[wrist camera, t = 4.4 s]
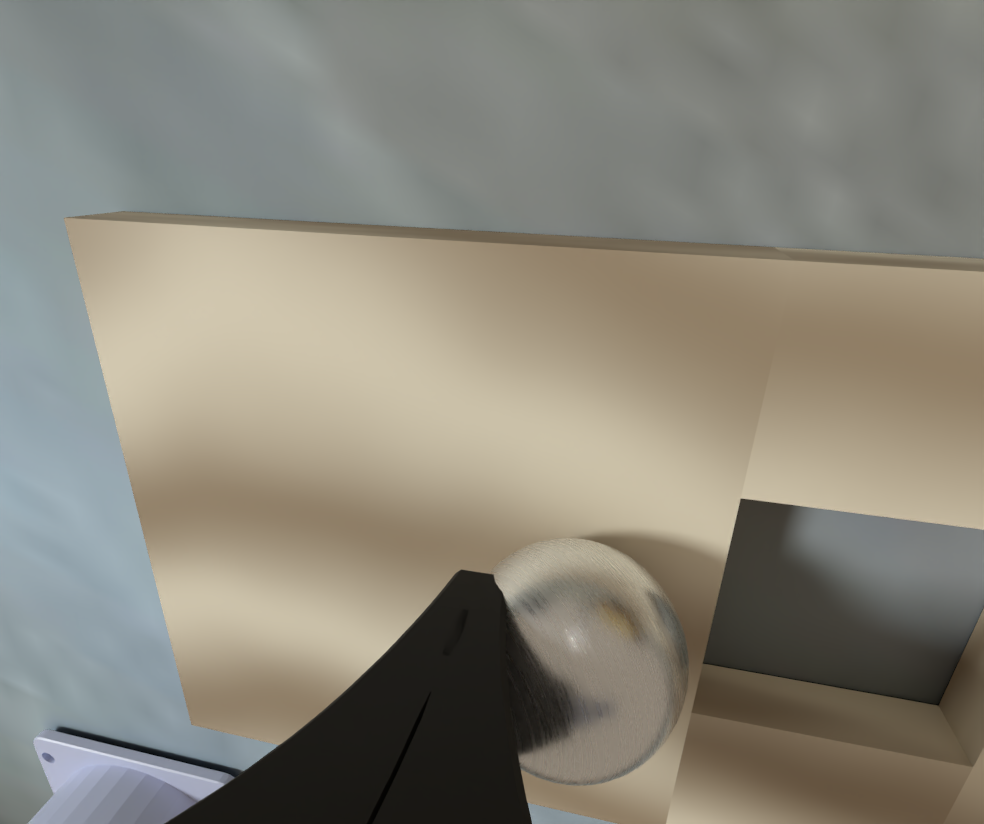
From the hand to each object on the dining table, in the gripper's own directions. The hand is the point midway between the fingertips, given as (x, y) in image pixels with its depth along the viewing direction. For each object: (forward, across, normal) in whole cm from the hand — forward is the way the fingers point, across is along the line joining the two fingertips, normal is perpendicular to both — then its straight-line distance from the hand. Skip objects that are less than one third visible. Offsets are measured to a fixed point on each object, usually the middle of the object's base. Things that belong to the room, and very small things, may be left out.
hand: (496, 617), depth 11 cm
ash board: (+3, -2, +1) cm, 4 cm away
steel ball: (0, -1, 0) cm, 1 cm away
